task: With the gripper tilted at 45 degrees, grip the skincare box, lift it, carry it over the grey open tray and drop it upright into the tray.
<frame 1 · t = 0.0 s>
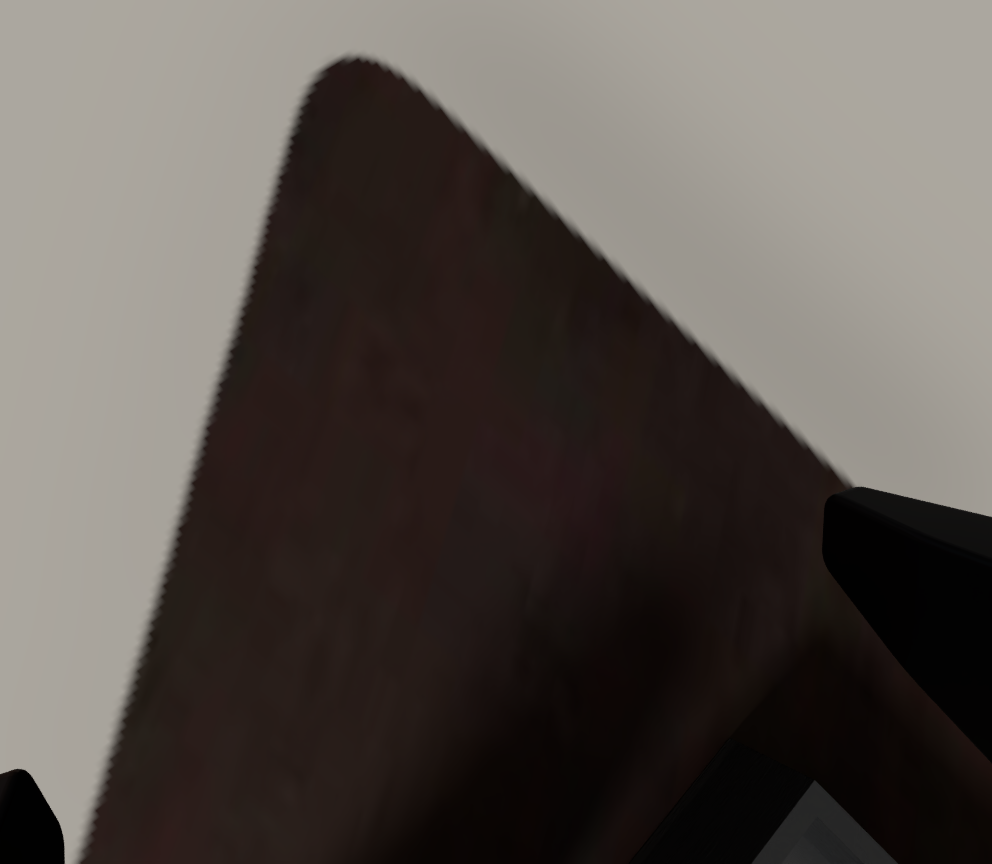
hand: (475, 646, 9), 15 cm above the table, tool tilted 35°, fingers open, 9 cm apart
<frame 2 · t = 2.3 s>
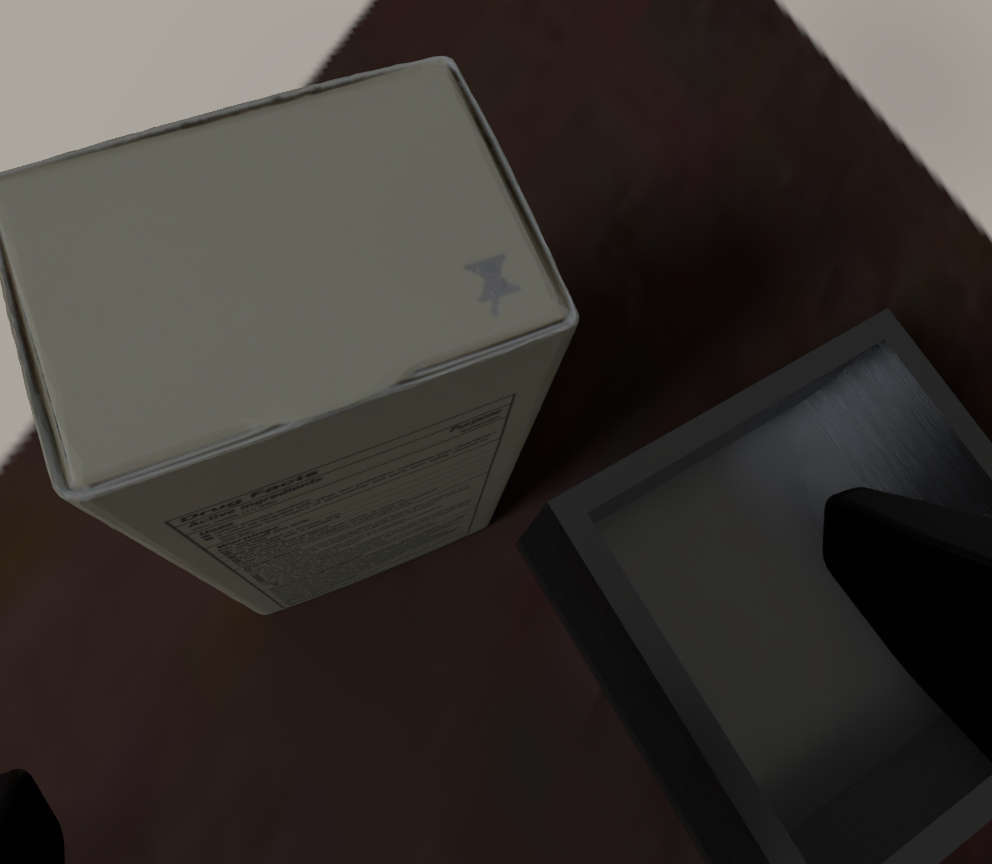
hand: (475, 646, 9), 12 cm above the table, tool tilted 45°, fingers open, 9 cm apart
grey open tray: (768, 613, 21), on the table
skincare box: (344, 499, 21), on the table
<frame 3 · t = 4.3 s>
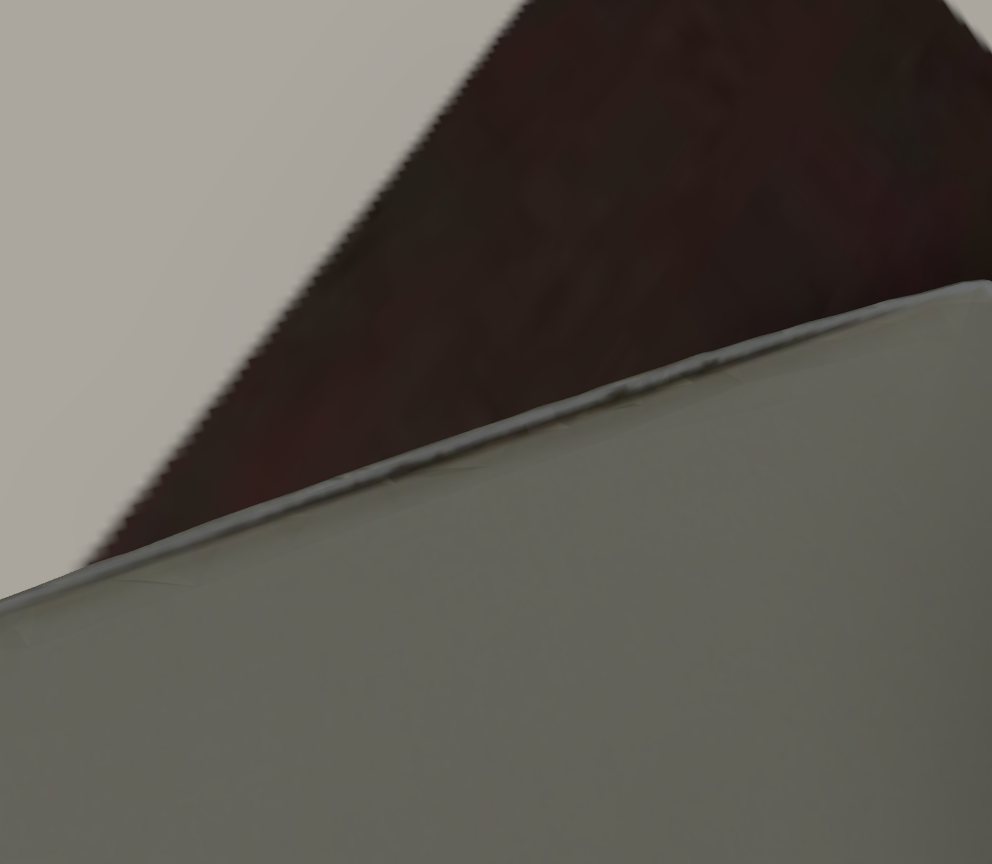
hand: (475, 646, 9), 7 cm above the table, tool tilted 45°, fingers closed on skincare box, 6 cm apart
skincare box: (461, 755, 15), on the table, touching gripper
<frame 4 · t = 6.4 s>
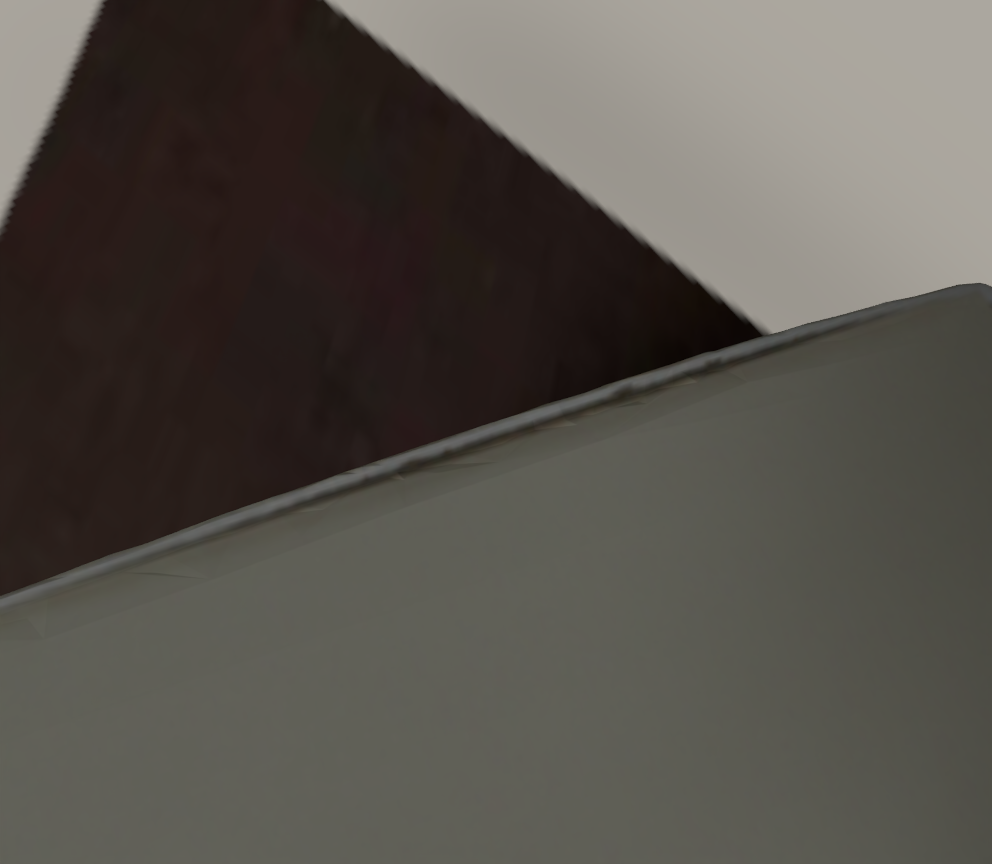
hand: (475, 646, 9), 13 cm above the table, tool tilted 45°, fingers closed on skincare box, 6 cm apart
skincare box: (453, 755, 15), point 6 cm above the table, touching gripper
when the fingers open (8 cm above the table, at t = 8.4 s): skincare box drops 1 cm, resting on grey open tray.
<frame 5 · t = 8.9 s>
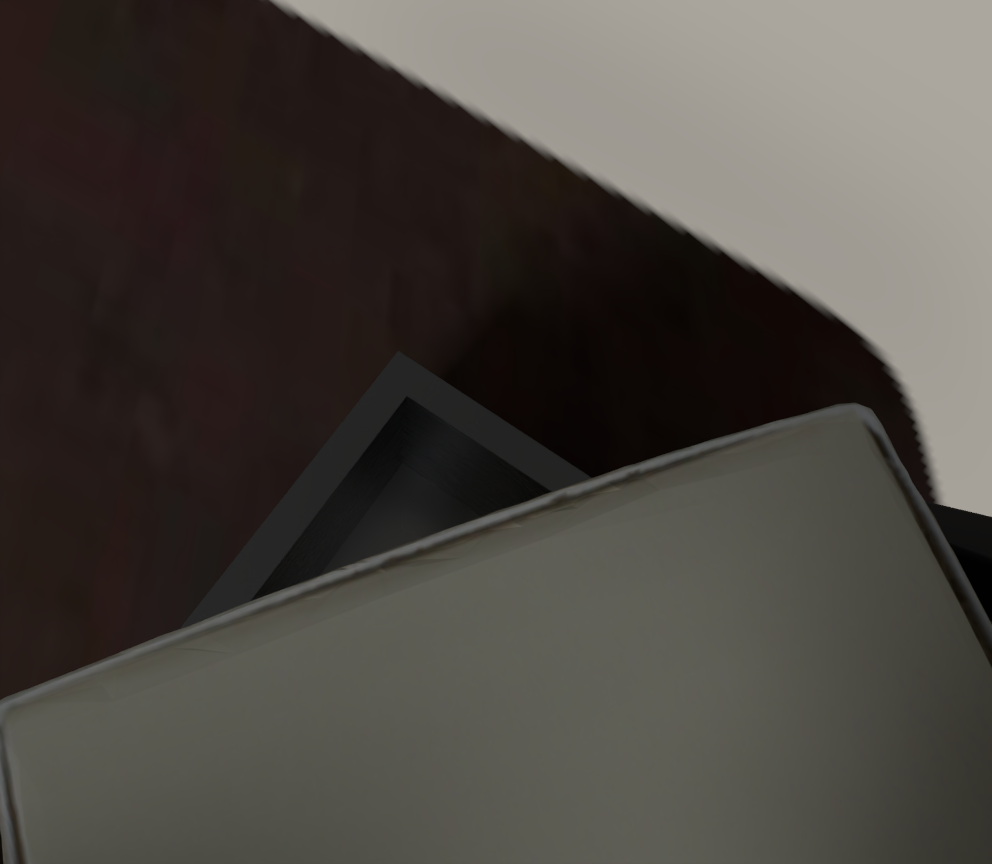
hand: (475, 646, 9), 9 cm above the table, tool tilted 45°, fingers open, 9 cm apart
grey open tray: (453, 751, 17), on the table
skincare box: (452, 754, 16), resting on grey open tray
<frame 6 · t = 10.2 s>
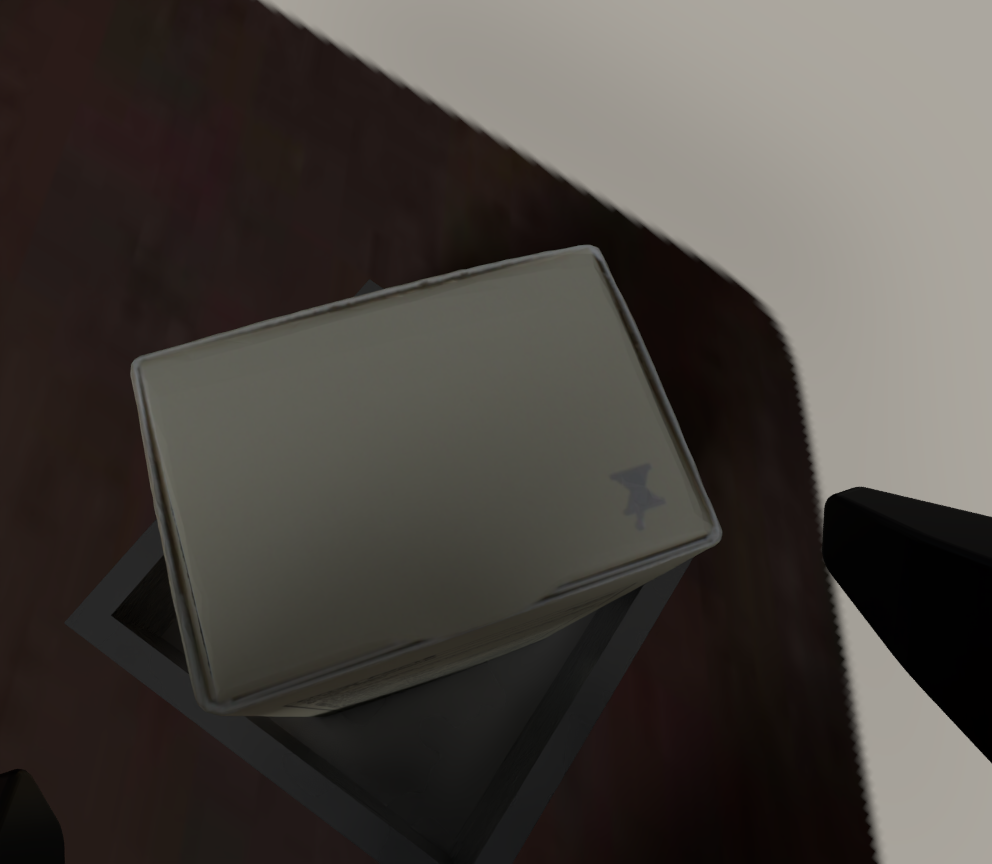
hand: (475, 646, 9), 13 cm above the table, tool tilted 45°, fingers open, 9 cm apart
grey open tray: (407, 598, 21), on the table
skincare box: (405, 598, 21), resting on grey open tray
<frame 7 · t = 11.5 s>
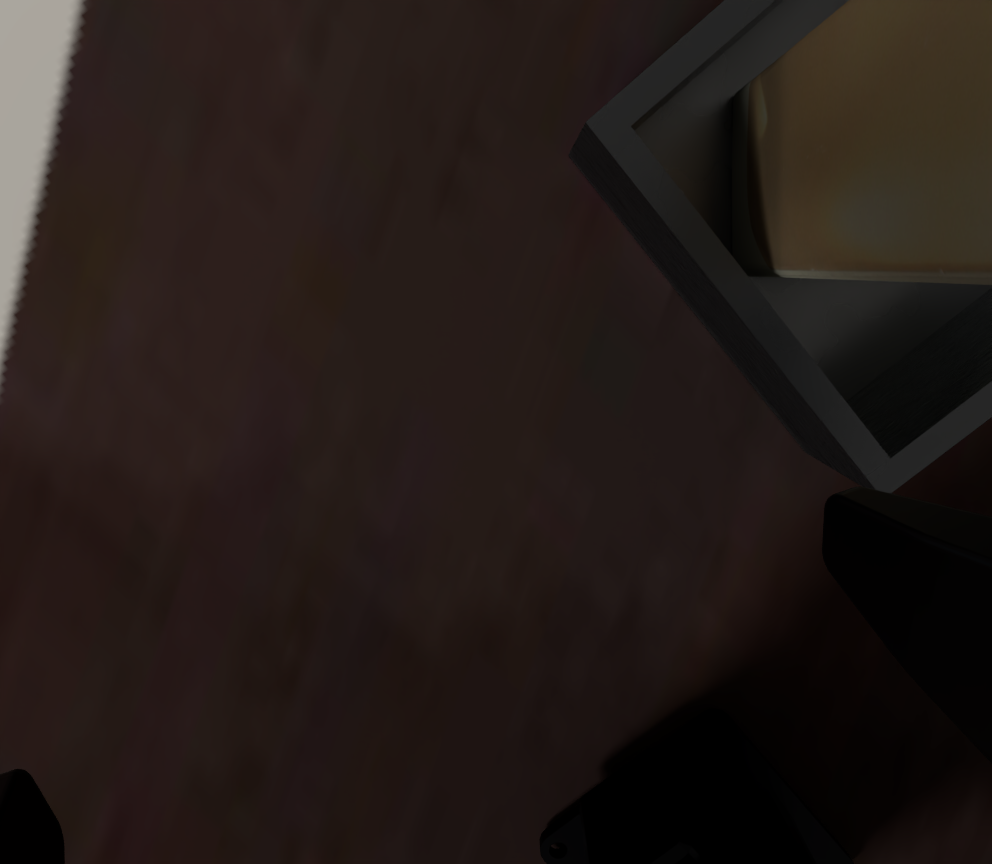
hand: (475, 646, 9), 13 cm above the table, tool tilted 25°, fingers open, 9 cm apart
grey open tray: (847, 178, 20), on the table
skincare box: (850, 179, 20), resting on grey open tray
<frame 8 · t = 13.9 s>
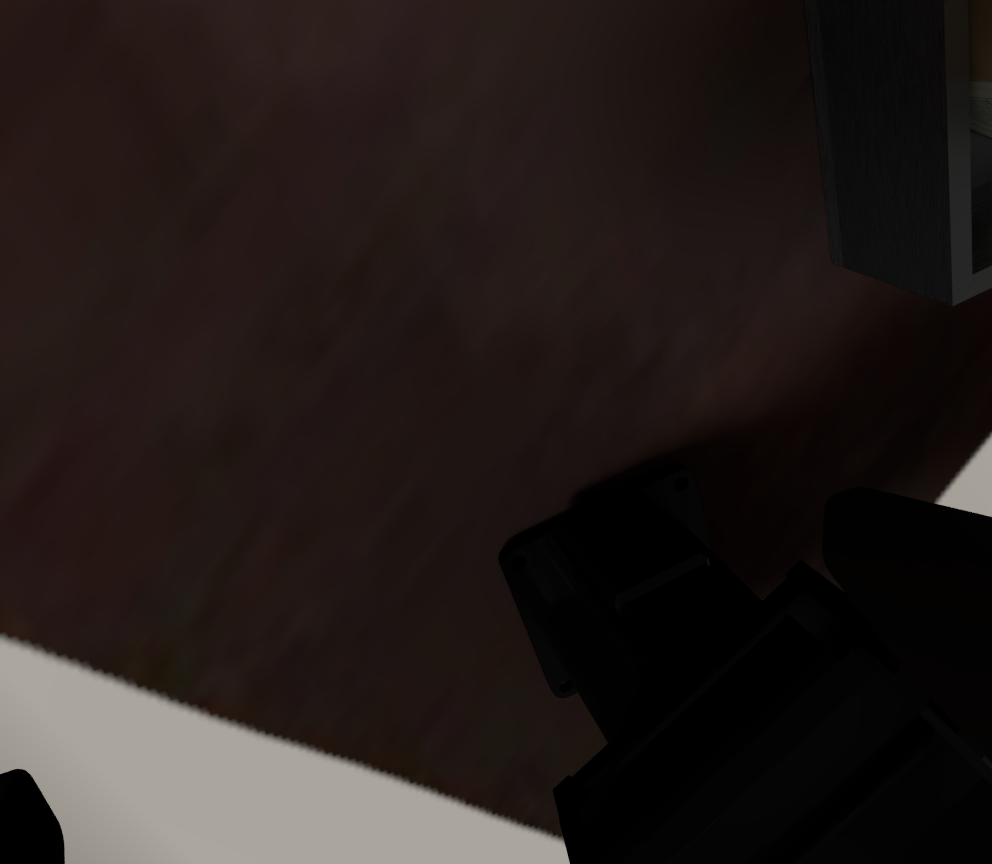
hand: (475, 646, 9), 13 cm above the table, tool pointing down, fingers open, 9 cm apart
grey open tray: (963, 35, 23), on the table
skincare box: (970, 35, 22), resting on grey open tray
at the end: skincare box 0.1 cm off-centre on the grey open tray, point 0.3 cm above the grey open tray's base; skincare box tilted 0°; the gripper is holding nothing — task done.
